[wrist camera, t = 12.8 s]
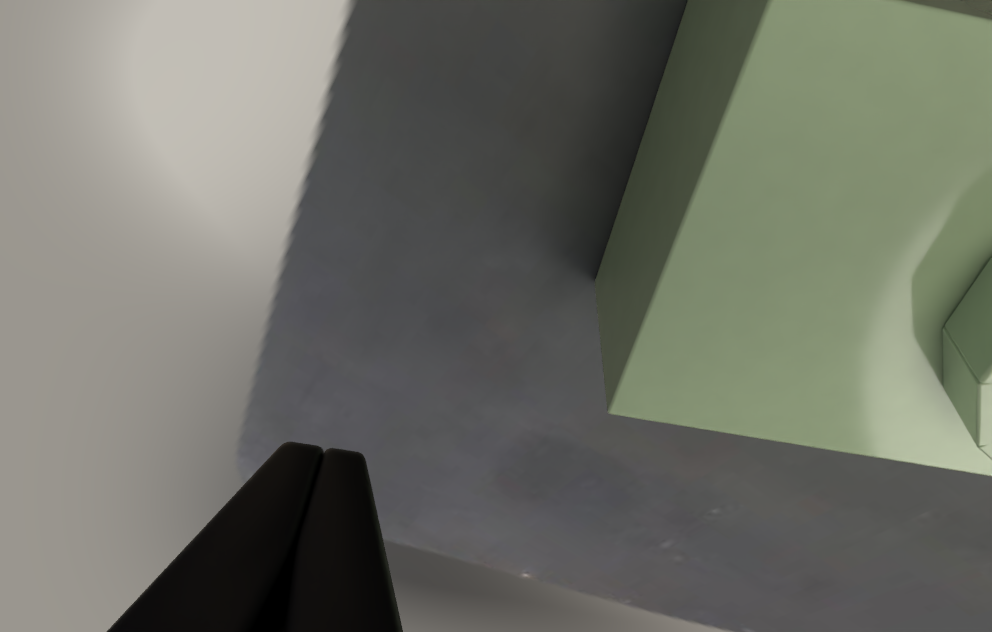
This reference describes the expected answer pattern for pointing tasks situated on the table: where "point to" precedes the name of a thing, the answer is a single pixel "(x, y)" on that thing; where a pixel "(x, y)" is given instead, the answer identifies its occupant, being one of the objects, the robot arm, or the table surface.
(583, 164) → the table surface
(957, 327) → the push button box
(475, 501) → the table surface
